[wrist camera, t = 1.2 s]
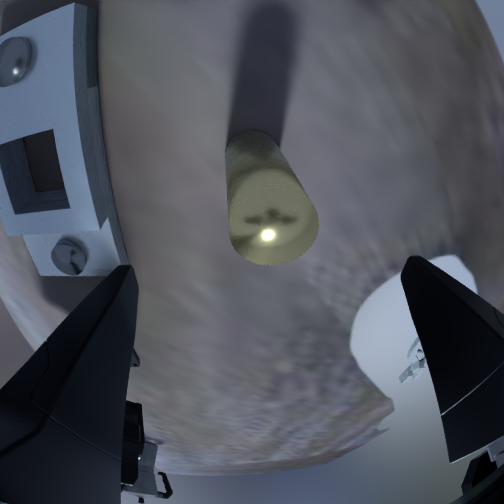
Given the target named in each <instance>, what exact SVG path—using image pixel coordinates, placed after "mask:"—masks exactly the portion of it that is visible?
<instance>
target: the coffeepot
mask: <svg viewBox="0 0 504 504" xmlns="http://www.w3.org/2000/svg"><path fill="white" fill-rule="evenodd" d="M157 450H158V446H156V445H154V444H151V443H147V442H144V449H143V453H142V456H141V458H140V459H139V460H138V479H137V480H136V482H135V484H134V485H128V486H127V487H126V488H125V489H124V490H123V491H124V492H127V493H130V494H132V495H135V496H137V497H139V501H138V502H139V503H141V504H143V503H144V499H143V498H147V497H158V498H164V499H168V498H169V497H170V496H171V495H172V494H173V491H172V489H171V487H170V484H169V481H168V479H167V476H166V474H165V473H163V472H158V474H159V475H161V476H162V477H163V482H164V484H165V489H166V491H167V492H166V493H163V492H158V491H157V487H156V481H155V475H154V469H153V468H154V466H155V460H156V455H157Z"/></svg>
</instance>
